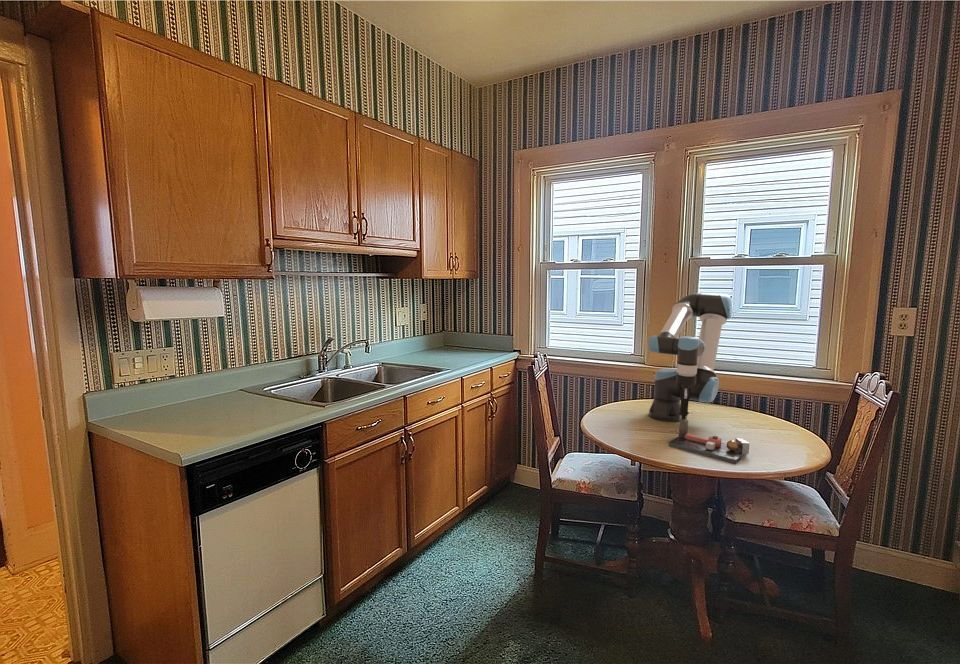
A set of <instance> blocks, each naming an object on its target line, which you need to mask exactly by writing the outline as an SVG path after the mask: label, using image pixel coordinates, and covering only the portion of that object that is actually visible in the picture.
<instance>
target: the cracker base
mask: <svg viewBox="0 0 960 664" xmlns="http://www.w3.org/2000/svg"><path fill="white" fill-rule="evenodd" d="M668 446H669V447H671V448H674V449H679V450H682V451H686V452H690V453H693V454H697V455H700V456H704V457H708V458H712V459H715V460H719V461H723V462H726V463H730V464H733V465H737V464H738V462H739V461H741V460H742V458H744V457H745V456H746V455H747V454H749V451H750V442H749V441H747V440H745V439H743V437H740V438H739V437H736V438H735V439H734V440H733V439H731V440H728V441H727V442H726V443H725V442H724V443H722V442H721V447H715V448H714V449H713V450H710V449H706V443H702V442H698V441H694V440H690V439H686V438H681V437H679V435H678V436H676V437H674V438H672V439H671V440H670V441H669V442H668Z"/></svg>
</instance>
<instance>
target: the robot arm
mask: <svg viewBox="0 0 960 664" xmlns="http://www.w3.org/2000/svg"><path fill="white" fill-rule="evenodd" d="M732 316H733V307H732V298H731V295H729V294H728V293H704V292H701V293H700V292H694V293H689V294H687V295H684V296H683V297H682V298H680V299H678V300H677V301H676V302H675V303H674V305H673V306H672V308H671V314H670V316H669V318H667V321H666V323H665V324H664V326H663V328H662V329H661V330H660V333H659V334H658V335H652V336H650V337H649V339H648V345H647V346H648V350H649V351H650V352H651V353H656V354H664V355H675V356H677V357H676V359H677V360H676V361H677V362H676V365H675V366H674V368H671V367H669V368H662V369H661V368H660V369H659V370H656V372H655V374H654V383H653V384H654V387H653V389H654V390H653V400H652V402H651V405H650V408H649V410H648V416H649V417H650V418H651V419H654V420H657V421H661V422H665V423H666V422H668V423H676V422H677V423H678V422H679V423H680V419H687V420H688V415H689V412H688V411H689V403H690V402H689V401H691V400H692V401H696V402H700V403H712V402H713V401H715V398H716V397H717V394H718V391H719V386H720V379H719V378H718V377H717V373H716V372H715V371H714V370H715V364H716V360H717V354H718V348H719V344H720V339H721V334H722V333H721V332H722V327H723V325H725V324H726V323H727V320H730V319H731V318H732ZM693 317H695V318H696V317H697V318H699V321H700V322H701V327H700V330H699V331H700V332H699V337H695V336H688V335H686V336H685V335H684V336H680V335H681V333H682V330H683V328H684V327H685V325H686V323H687V321H688V320H690V319H691V318H693ZM679 336H680V337H679Z"/></svg>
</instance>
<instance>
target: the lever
mask: <svg viewBox="0 0 960 664" xmlns="http://www.w3.org/2000/svg"><path fill="white" fill-rule="evenodd" d="M688 429H689V419H688V418H687V419H680V423H679V425H678V436H679V437H681V438H686V439H690V440H694V441H698V442H702V443H706V449H710V450H713V449H714V448H715V447H721V443H722V438H720V437H719V436H717V435H712V436H709V437H708V438H707V437H703V436H699V435H696V434H695V435H694V434H691V433H689V432H688Z"/></svg>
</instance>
